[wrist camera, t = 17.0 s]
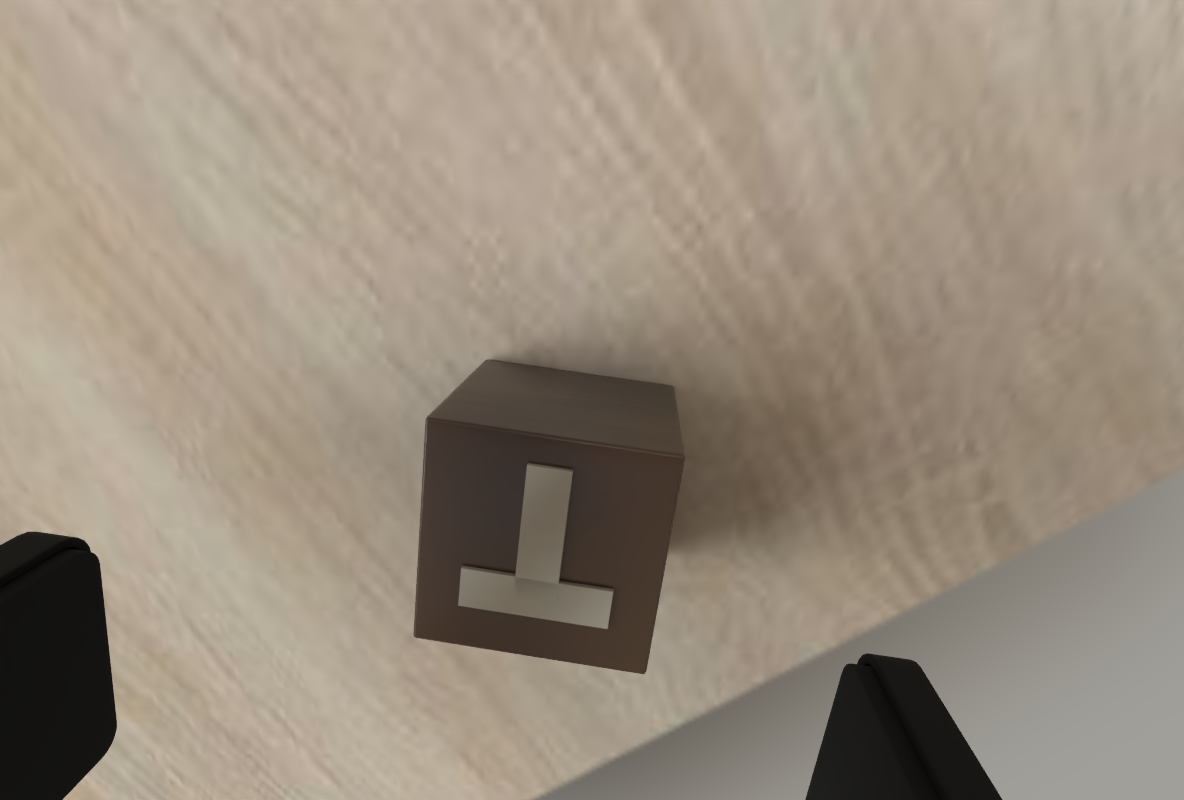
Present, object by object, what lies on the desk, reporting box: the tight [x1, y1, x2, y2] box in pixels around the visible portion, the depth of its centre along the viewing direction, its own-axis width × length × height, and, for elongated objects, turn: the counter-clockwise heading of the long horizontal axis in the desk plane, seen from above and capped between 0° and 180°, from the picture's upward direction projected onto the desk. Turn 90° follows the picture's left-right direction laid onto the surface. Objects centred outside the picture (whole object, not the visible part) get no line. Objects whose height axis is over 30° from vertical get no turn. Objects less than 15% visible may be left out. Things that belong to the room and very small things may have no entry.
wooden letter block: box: [414, 360, 685, 674], centre depth 14 cm, size 4×4×5 cm
